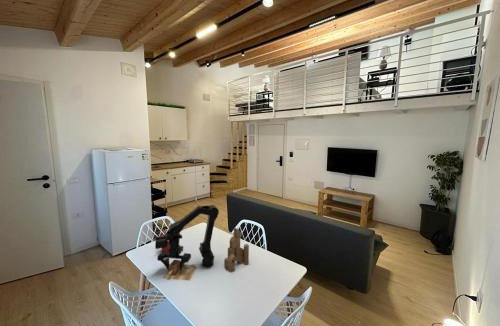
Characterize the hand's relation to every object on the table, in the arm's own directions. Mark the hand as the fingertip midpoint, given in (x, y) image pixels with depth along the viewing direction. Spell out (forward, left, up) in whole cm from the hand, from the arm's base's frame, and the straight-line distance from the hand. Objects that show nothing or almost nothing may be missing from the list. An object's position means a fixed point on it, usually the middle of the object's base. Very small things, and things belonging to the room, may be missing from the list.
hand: (174, 270), depth 133 cm
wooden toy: (-36, -13, -2) cm, 38 cm away
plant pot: (+14, -24, -2) cm, 27 cm away
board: (-4, 0, -2) cm, 4 cm away
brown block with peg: (0, +2, -1) cm, 2 cm away
